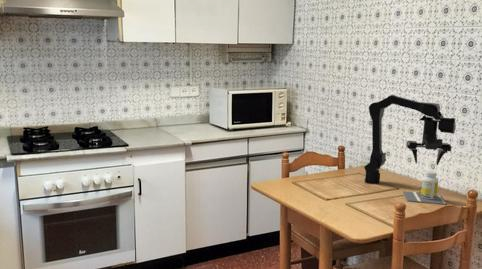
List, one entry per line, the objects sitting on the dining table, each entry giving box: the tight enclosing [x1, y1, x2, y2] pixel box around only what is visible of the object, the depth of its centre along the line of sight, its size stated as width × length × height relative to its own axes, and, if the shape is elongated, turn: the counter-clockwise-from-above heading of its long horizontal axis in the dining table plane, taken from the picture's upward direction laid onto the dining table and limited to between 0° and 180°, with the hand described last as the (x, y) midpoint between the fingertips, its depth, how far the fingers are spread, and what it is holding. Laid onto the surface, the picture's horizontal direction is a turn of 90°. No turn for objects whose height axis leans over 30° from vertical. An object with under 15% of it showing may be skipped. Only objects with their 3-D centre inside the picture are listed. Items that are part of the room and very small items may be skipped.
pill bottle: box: [420, 170, 439, 199], centre depth 206 cm, size 6×6×12 cm
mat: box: [402, 190, 447, 206], centre depth 207 cm, size 16×14×1 cm
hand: (426, 164), depth 216 cm, fingers open, 9 cm apart
